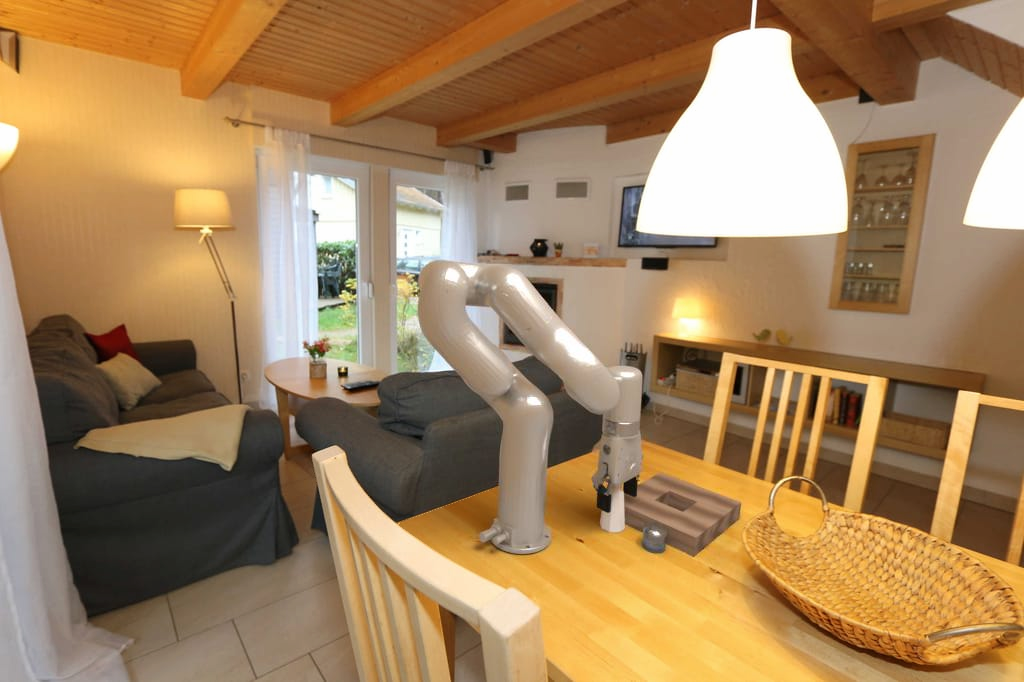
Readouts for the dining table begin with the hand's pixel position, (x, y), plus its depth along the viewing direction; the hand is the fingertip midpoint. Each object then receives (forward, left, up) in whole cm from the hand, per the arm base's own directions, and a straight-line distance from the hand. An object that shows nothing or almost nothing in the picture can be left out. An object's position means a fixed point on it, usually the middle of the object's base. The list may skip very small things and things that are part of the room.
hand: (617, 502), depth 107 cm
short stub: (-1, -10, -6) cm, 11 cm away
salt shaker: (-1, 0, -6) cm, 6 cm away
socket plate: (+13, -7, -6) cm, 16 cm away
